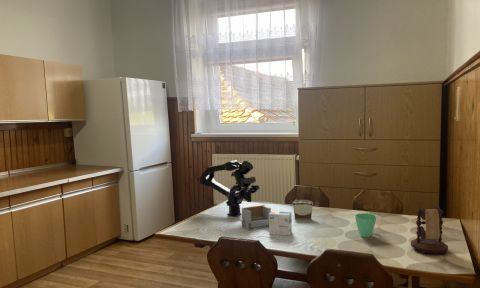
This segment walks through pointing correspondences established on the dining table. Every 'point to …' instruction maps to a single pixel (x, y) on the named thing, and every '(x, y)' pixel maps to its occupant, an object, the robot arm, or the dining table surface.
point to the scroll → (429, 231)
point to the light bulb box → (280, 223)
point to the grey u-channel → (255, 219)
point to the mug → (365, 223)
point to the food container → (302, 209)
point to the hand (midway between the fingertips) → (249, 202)
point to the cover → (255, 211)
